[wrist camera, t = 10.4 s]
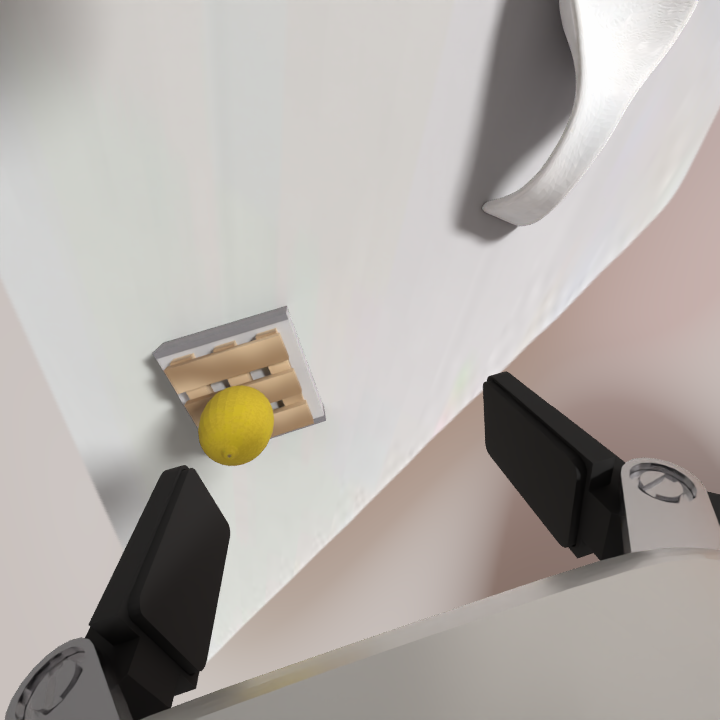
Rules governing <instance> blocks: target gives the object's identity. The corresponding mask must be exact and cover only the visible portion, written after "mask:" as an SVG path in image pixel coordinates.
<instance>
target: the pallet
mask: <svg viewBox="0 0 720 720" xmlns="http://www.w3.org/2000/svg"><path fill="white" fill-rule="evenodd" d="M213 352H214V353H210V354H207V355H204V356H201V357H197V358H196V357H195V355H194V353H192V354H188V355H185V356H182V357H178V358H175V359H173V360H172V361H171V362H170V365H171V366H168V367H166V369H165V370H164V372H165V374H166V375H167V377H168V379H169V380H170V382H171V384H172V385H173V387H174V389H175V390H176V392H177V394H180V393H183V392H186V393H187V395H188V397H189V398H190V400H188V401H187V402H186V403H185V405H184V406H185V407H186V409H187V411H188V412H189V414H190V416H191V417H192V419H193V421H194V423H195V424H196V426H199V422H200V417H201V414H202V412H203V410H204V408H205V406H206V405H207V403H208V402H209V401H210V400H211V399H212V398H213V397H214V396H215V395H216V394H217V393H218V392H220V391H222V390H220V391H217V392H214V391H213V389H212V387H211V385H210V384H212V383H216V382H219V381H222V380H225V379H227V380H228V382H229V384H230V386H231V387H232V386H240V385H243V386H249V387H252V388H255V389H257V390H258V391H260V392H261V393H263V394H264V395H265V397H266V398H267V399H268V400H269V402H270V403H273V402H276V401H279V400H283V403H284V405H285V406H284V407H281V408H277V409H274V410H273V414H274V426H273V432H272V435H271V437H274V436H277V435H280V434H283V433H286V432H289V431H292V430H295V429H299V428H302V427H305V426H308V425H311V424H314V419H313V416H312V414H311V411H310V409H309V406H308V404H307V401H306V400H304V397H303V395H302V388H301V386H300V383H299V381H298V378H297V375H296V373H295V370H294V368H292V367H291V364H290V362H289V355H288V352H287V350H286V347H285V345H284V342H283V340H282V337H281V334H280V332H279V333H278V331H277V329H276V328H274V329H271V330H267V331H264V332H261V333H257V334H256V340H253V341H250V342H246V343H243V344H240V345H237V343H236V341H235V340H234V341H231V342H228V343H224V344H221V345H218V346H215V348H214V349H213ZM267 366H268V368H269V370H270V372H271V375H268V376H265V377H262V378H259V379H255V380H253V378H252V376H251V374H250V372H251V371H254V370H258V369H261V368H264V367H267ZM271 437H270V438H271Z"/></svg>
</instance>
